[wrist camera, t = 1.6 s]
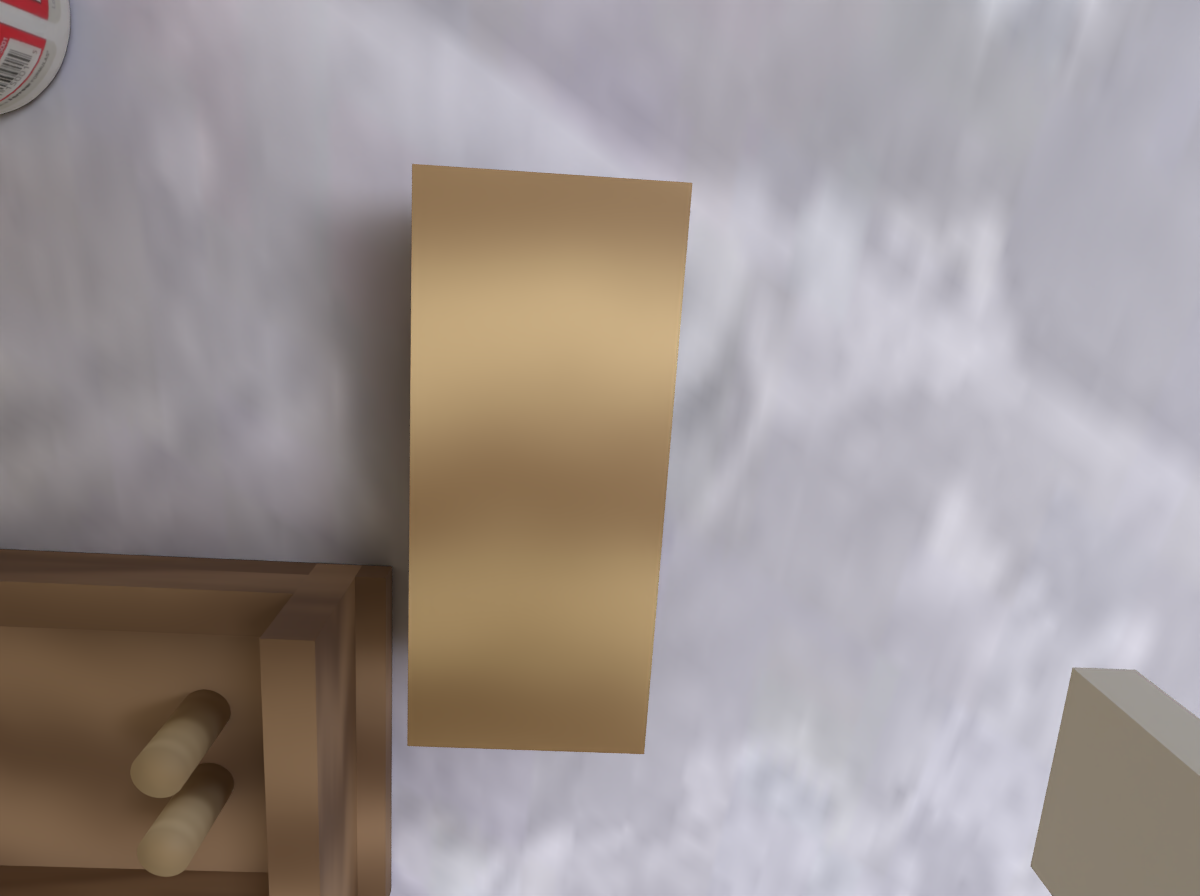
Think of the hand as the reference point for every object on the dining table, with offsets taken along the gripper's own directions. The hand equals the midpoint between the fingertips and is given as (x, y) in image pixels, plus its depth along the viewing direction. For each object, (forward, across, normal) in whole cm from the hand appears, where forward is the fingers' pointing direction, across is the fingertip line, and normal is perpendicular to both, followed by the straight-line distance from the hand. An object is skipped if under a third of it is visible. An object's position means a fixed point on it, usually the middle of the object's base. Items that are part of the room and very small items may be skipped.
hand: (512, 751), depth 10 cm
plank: (+14, 0, 0) cm, 14 cm away
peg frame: (+18, -16, -12) cm, 27 cm away
